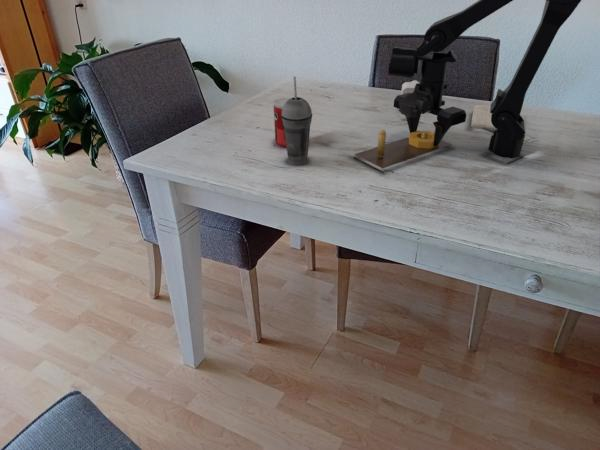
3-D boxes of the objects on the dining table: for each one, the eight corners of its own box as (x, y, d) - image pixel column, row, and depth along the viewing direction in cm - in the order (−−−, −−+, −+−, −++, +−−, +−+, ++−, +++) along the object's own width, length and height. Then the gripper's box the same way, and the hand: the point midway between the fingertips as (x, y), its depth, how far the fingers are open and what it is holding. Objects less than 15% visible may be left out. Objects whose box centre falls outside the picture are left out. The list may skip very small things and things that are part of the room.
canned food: (285, 135, 125) (283, 95, 119) (310, 140, 122) (309, 100, 116) (269, 144, 120) (267, 103, 114) (295, 150, 116) (294, 108, 110)
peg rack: (451, 148, 116) (456, 118, 111) (382, 173, 104) (385, 140, 100) (421, 136, 123) (425, 107, 118) (353, 158, 111) (355, 127, 107)
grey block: (422, 99, 148) (427, 70, 141) (425, 117, 141) (431, 88, 134) (397, 99, 149) (401, 70, 142) (399, 116, 142) (403, 87, 135)
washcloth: (514, 115, 136) (517, 105, 134) (515, 136, 122) (518, 125, 120) (473, 111, 139) (475, 101, 138) (469, 131, 125) (471, 120, 124)
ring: (444, 143, 115) (445, 137, 114) (424, 150, 112) (425, 143, 111) (422, 135, 121) (423, 128, 120) (402, 141, 117) (403, 134, 116)
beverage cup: (286, 169, 107) (283, 83, 96) (279, 157, 113) (276, 75, 102) (316, 165, 109) (316, 80, 98) (307, 153, 114) (307, 72, 104)
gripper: (380, 76, 110) (375, 137, 119) (440, 95, 97) (429, 161, 106) (412, 69, 116) (405, 128, 124) (473, 86, 103) (461, 150, 111)
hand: (423, 141), depth 116 cm, fingers closed on ring, 7 cm apart
